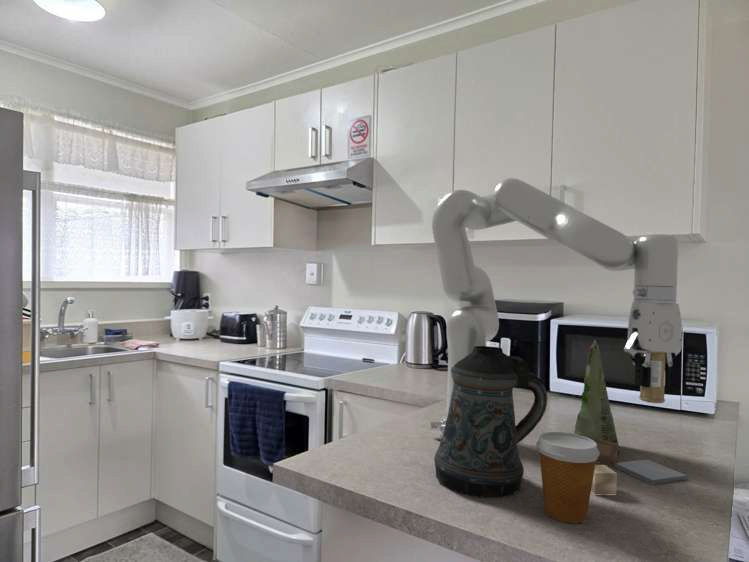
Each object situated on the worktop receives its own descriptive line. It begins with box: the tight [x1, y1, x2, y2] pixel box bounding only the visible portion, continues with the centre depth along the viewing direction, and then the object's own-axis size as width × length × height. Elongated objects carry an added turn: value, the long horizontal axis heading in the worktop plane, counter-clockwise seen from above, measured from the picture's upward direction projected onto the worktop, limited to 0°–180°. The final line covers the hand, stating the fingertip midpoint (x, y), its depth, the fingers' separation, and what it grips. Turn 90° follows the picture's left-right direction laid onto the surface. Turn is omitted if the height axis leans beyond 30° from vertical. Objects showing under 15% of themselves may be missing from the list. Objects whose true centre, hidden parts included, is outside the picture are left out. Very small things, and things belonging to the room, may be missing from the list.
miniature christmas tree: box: [573, 339, 620, 453], centre depth 113 cm, size 11×12×25 cm
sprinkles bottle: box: [639, 349, 666, 404], centre depth 97 cm, size 5×5×14 cm
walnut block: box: [594, 439, 618, 467], centre depth 103 cm, size 4×4×4 cm
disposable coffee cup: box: [535, 431, 600, 524], centre depth 78 cm, size 10×10×12 cm
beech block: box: [591, 464, 618, 496], centre depth 88 cm, size 4×4×4 cm
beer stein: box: [433, 345, 548, 499], centre depth 91 cm, size 16×19×25 cm
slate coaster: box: [614, 459, 688, 485], centre depth 97 cm, size 9×9×1 cm
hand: (651, 384), depth 97 cm, fingers closed on sprinkles bottle, 4 cm apart
